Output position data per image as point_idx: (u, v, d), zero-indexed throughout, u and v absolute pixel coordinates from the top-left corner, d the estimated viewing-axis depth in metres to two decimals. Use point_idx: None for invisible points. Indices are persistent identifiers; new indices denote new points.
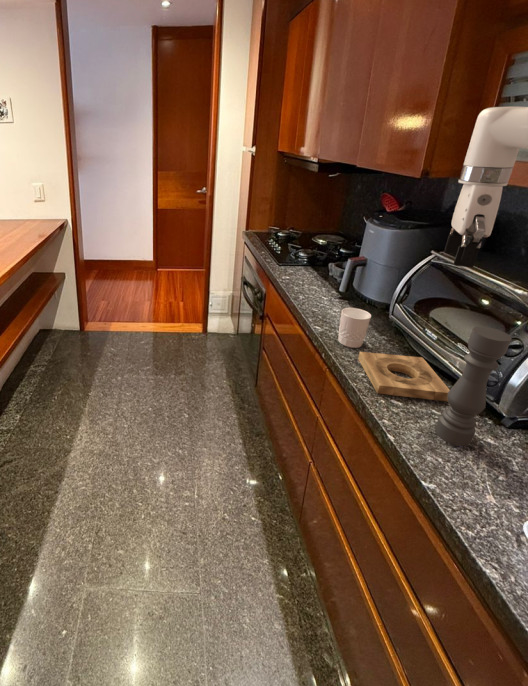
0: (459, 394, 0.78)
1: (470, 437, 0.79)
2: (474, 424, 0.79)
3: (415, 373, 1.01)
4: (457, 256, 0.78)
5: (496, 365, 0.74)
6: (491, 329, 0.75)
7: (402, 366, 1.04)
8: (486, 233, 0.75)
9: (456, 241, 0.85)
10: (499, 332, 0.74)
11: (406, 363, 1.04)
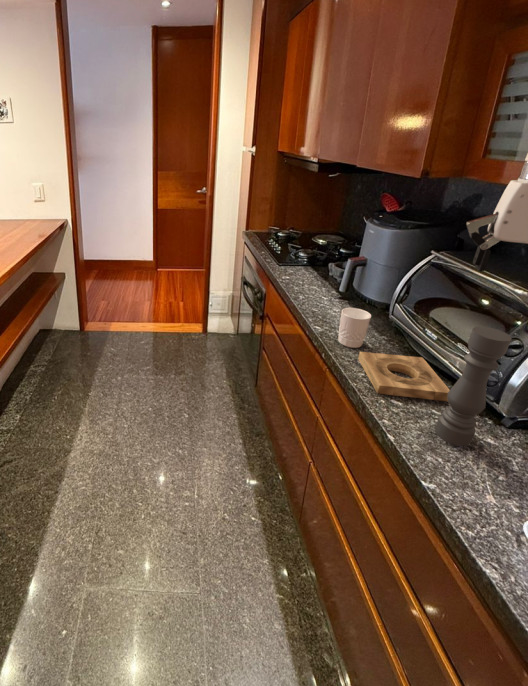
0: (459, 394, 0.78)
1: (470, 437, 0.79)
2: (474, 424, 0.79)
3: (415, 373, 1.01)
4: None
5: (496, 365, 0.74)
6: (491, 329, 0.75)
7: (402, 366, 1.04)
8: None
9: None
10: (499, 332, 0.74)
11: (406, 363, 1.04)
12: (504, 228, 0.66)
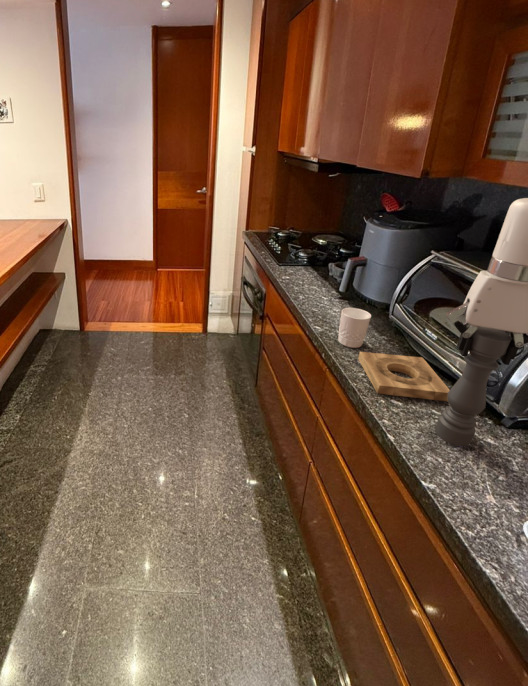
0: (459, 394, 0.78)
1: (470, 437, 0.79)
2: (474, 424, 0.79)
3: (415, 373, 1.01)
4: (511, 356, 0.72)
5: (496, 365, 0.74)
6: (491, 329, 0.75)
7: (402, 366, 1.04)
8: None
9: None
10: (499, 332, 0.74)
11: (406, 363, 1.04)
12: (474, 315, 0.72)
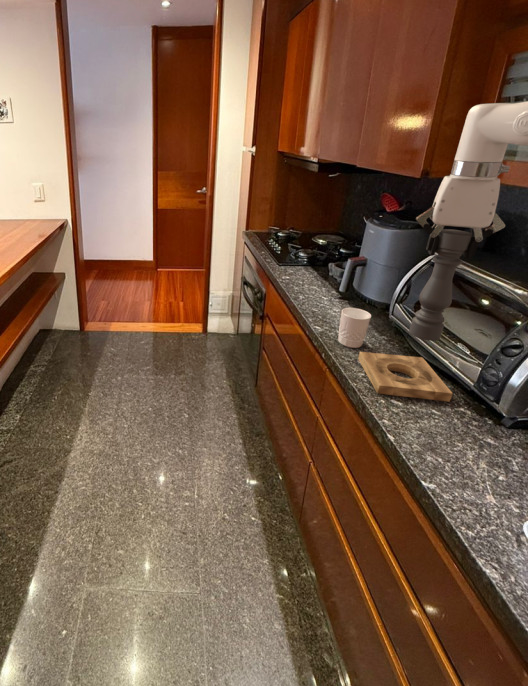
0: (428, 291, 0.88)
1: (439, 331, 0.89)
2: (442, 319, 0.89)
3: (415, 373, 1.01)
4: (472, 251, 0.82)
5: (460, 261, 0.83)
6: (456, 230, 0.84)
7: (402, 366, 1.04)
8: None
9: None
10: (463, 231, 0.83)
11: (406, 363, 1.04)
12: (440, 214, 0.82)
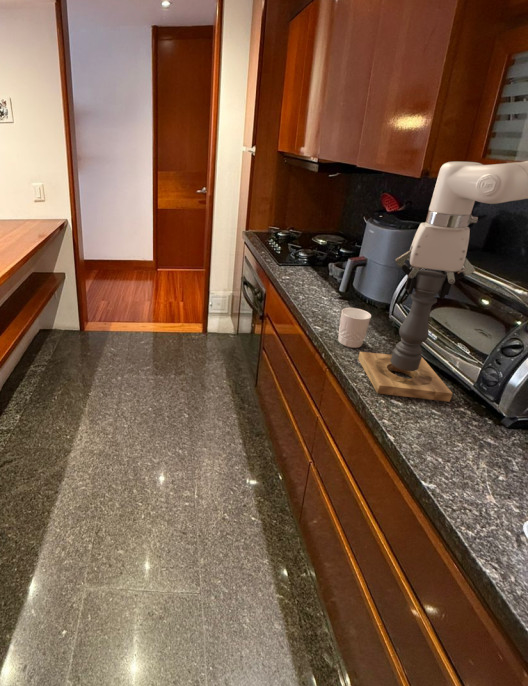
0: (407, 326, 0.95)
1: (417, 363, 0.97)
2: (420, 352, 0.96)
3: (415, 373, 1.01)
4: (445, 291, 0.89)
5: (435, 300, 0.91)
6: (431, 271, 0.92)
7: None
8: None
9: None
10: (437, 273, 0.91)
11: None
12: (416, 258, 0.89)
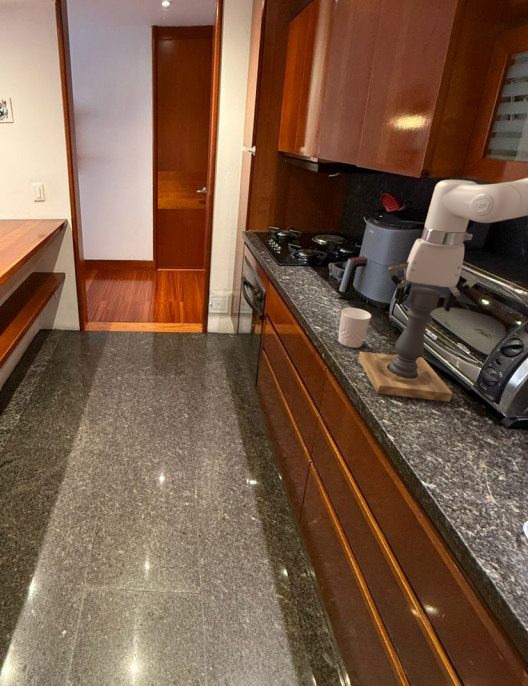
0: (403, 342, 0.97)
1: (413, 377, 0.98)
2: (416, 367, 0.98)
3: None
4: (451, 304, 0.90)
5: (430, 317, 0.93)
6: (426, 289, 0.94)
7: None
8: None
9: None
10: (433, 290, 0.93)
11: None
12: (412, 274, 0.90)
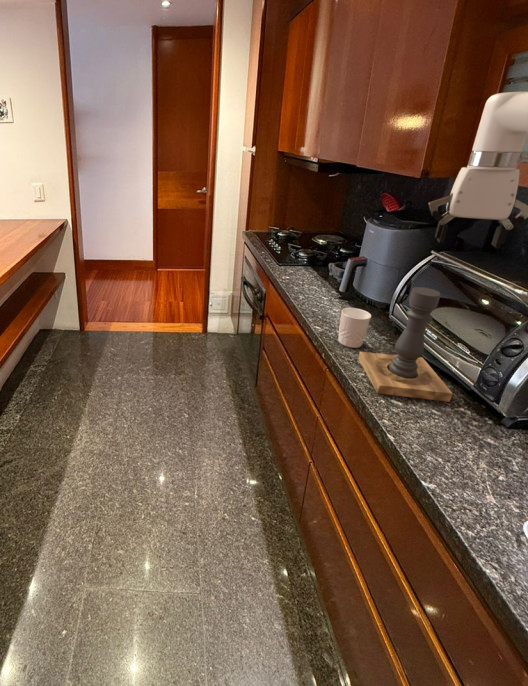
0: (403, 342, 0.97)
1: (413, 377, 0.98)
2: (416, 367, 0.98)
3: None
4: (502, 239, 0.79)
5: (430, 317, 0.93)
6: (426, 289, 0.94)
7: None
8: None
9: None
10: (433, 290, 0.93)
11: None
12: (457, 206, 0.80)
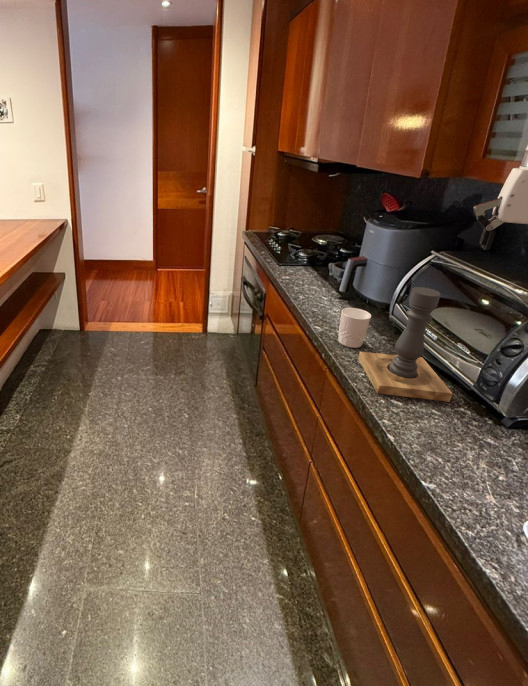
0: (403, 342, 0.97)
1: (413, 377, 0.98)
2: (416, 367, 0.98)
3: None
4: None
5: (430, 317, 0.93)
6: (426, 289, 0.94)
7: None
8: None
9: None
10: (433, 290, 0.93)
11: None
12: (507, 210, 0.74)
